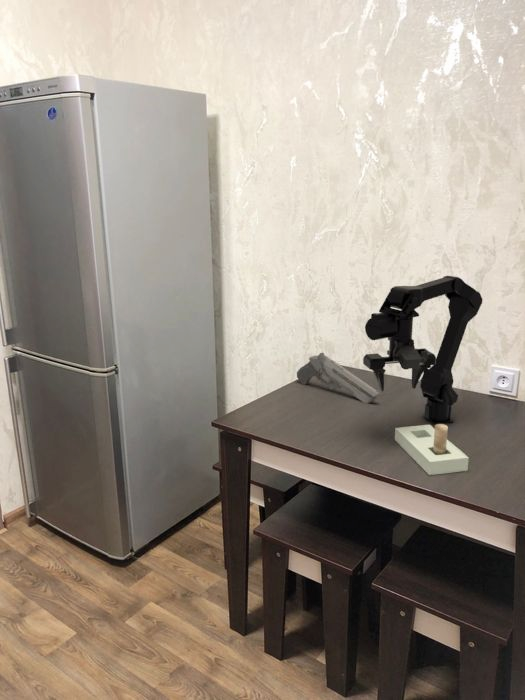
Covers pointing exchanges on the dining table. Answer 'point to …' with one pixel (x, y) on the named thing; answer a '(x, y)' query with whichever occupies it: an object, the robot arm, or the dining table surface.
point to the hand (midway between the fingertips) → (397, 389)
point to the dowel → (440, 439)
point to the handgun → (336, 377)
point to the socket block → (430, 450)
